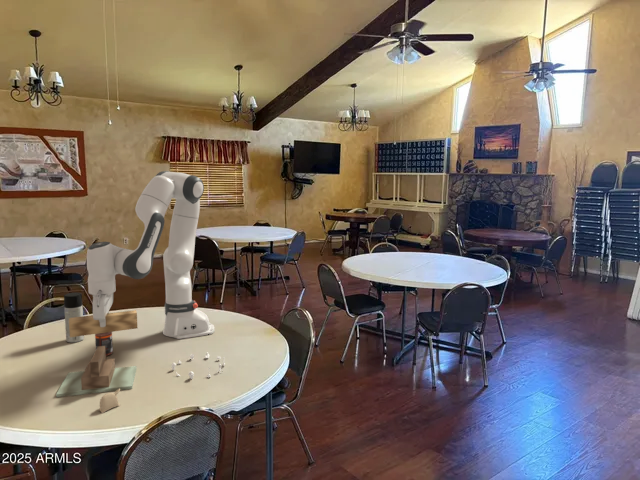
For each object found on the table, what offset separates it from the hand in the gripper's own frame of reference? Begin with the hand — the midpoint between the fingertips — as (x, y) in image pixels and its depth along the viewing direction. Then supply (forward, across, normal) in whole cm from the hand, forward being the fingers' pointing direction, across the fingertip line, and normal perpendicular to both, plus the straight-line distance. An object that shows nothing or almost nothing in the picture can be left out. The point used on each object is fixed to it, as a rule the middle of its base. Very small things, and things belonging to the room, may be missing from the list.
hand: (104, 324), depth 160 cm
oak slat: (+3, 0, 0) cm, 3 cm away
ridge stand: (+16, -14, 0) cm, 21 cm away
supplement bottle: (+16, +11, +2) cm, 19 cm away
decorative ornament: (+16, -33, -6) cm, 37 cm away
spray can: (+16, +30, +16) cm, 37 cm away
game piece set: (+17, -11, -33) cm, 38 cm away
